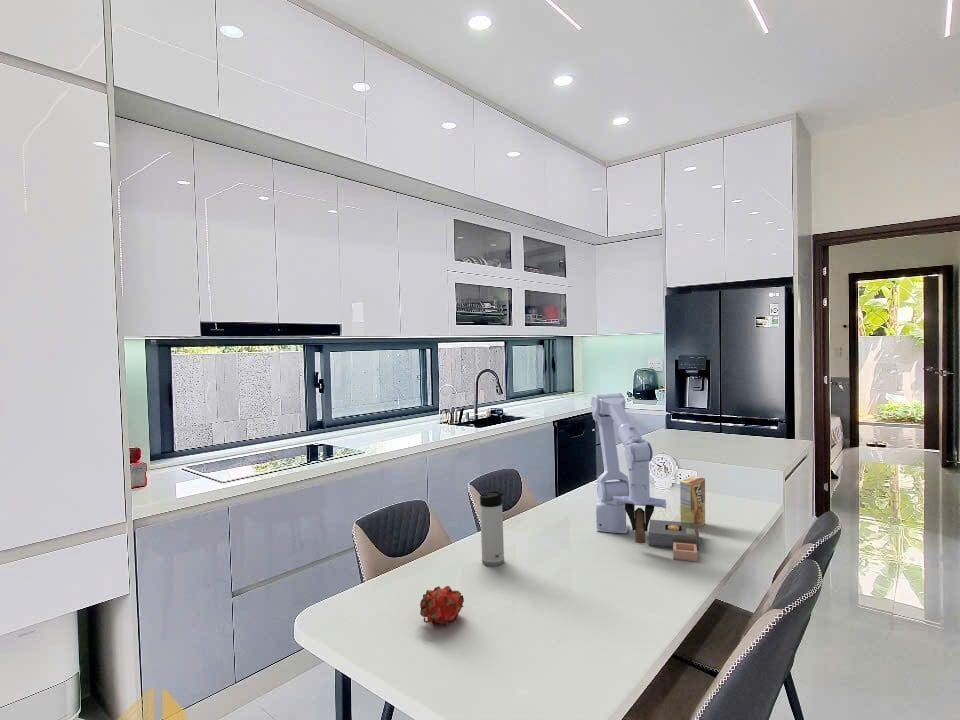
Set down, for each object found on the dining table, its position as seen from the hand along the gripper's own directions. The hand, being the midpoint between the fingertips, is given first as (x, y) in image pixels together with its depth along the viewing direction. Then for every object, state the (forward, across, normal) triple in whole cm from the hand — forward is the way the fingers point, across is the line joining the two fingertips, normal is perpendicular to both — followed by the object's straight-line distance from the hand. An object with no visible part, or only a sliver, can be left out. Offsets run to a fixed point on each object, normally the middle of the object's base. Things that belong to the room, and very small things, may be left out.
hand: (640, 530), depth 155 cm
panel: (+6, +9, +11) cm, 16 cm away
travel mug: (+7, -39, -18) cm, 43 cm away
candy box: (+7, +15, +26) cm, 31 cm away
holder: (+6, +12, 0) cm, 14 cm away
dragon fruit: (+6, -40, -51) cm, 65 cm away
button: (+4, +9, +11) cm, 15 cm away
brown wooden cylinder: (+3, 0, 0) cm, 3 cm away
